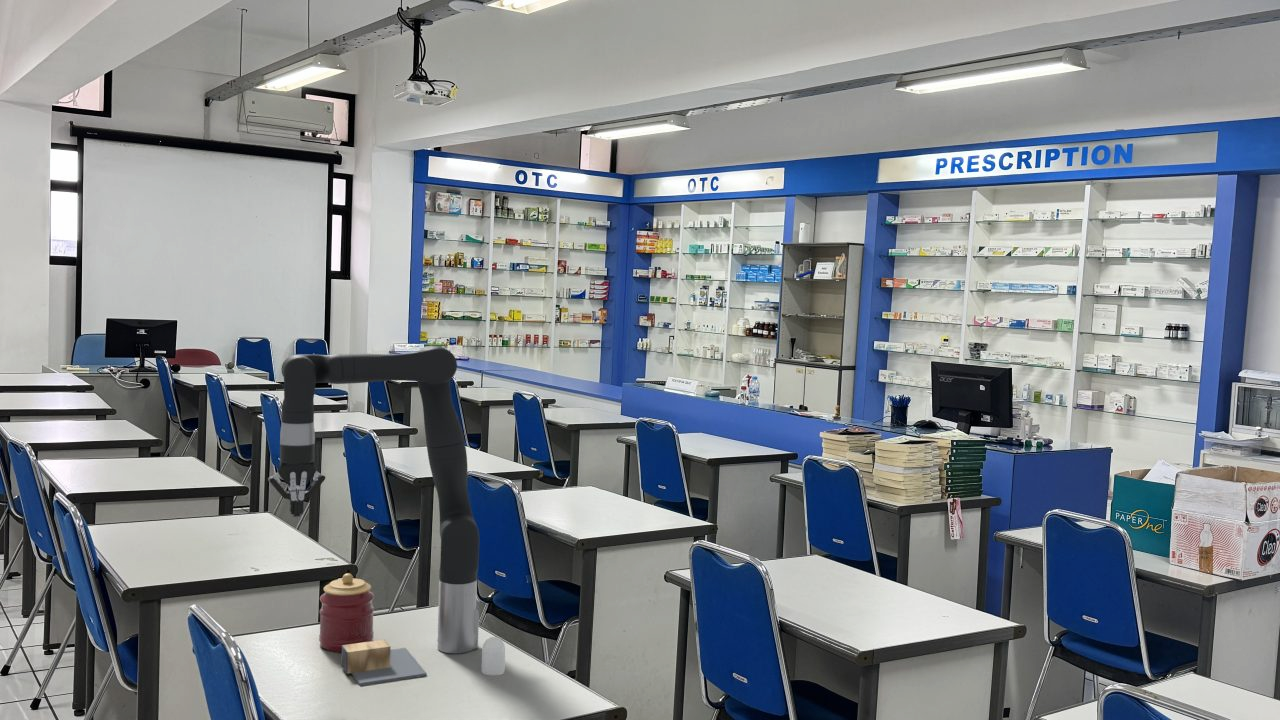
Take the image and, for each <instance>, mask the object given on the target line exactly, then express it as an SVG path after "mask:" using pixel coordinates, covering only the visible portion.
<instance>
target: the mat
mask: <svg viewBox="0 0 1280 720" xmlns="http://www.w3.org/2000/svg"><path fill="white" fill-rule="evenodd" d="M351 675H352V677H353V678H354V680H355V681H356V683H357V684H358V686H359V687H361V686H367V685H373V684H381V683H387V682H392V681H393V682H394V681H401V680H407V679H413V678H420V677H427V671H426V670H425V669H424V668H423V667H422V666H421V664H420V663H419V662H418V661H417V660H416V659H415V658H414V656H413V655H412V654H411V653H410V651H409V650H408V649H407V648H406V647H400V648H394V649H390V668H383V669H377V670H370V671H363V672H356V673H351Z"/></svg>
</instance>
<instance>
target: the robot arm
mask: <svg viewBox="0 0 1280 720" xmlns="http://www.w3.org/2000/svg"><path fill="white" fill-rule="evenodd" d="M457 369H458V362H457V359H456V357H455V355H454V354H453V353H452V352H451V351H450V350H449V349H447V348H445V347H443V346H437V345H426V346H423V347H422V348H420V349H419V351H416V352H409V353H399V354H397V353H396V354H395V353H394V354H391V353H389V354H385V353H382V354H381V353H366V352H365V353H362V352H361V353H359V352H358V353H357V352H356V353H354V352H353V353H336V354H335V353H334V354H329V355H328V354H326V355H325V354H293V355H290V356H288V357H287V358H286V359H285V360H284V361H283V363H282V365H281V374H282V377H283V400H282V403H281V404H282V405H281V424H280V425H281V427H280V438H279V439H280V440H279V466H278V468H277V472H276V473H275V474H273V475H272V476H271V475H270V476H269V477H268V478H267V481H268V483H270V484H271V485H272V487H274V488H275V490H276V491H277V492H278V494H280V496H281V497H282V498H283V499H285V500H289V512H290V514H291V515H292V517H293V518H294V517H295V518H296V517H301V515H303V513H304V508H305V507H304V503H305V499H308V498H311V497H312V496H313V495H314V494H315V493H316V491H317V490H318V489H319V488H320V487H321V485H322V484H323V483H324V481H325V480H326V476H325V475H324V474H323V473H320V472H319V471H317V466H316V464H315V449H316V447H315V442H316V437H315V434H316V432H315V422H314V420H315V417H314V415H315V403H314V397H315V390H316V384H320V383H321V384H322V383H323V384H324V383H325V384H327V383H328V384H334V385H345V384H346V385H348V384H365V383H375V382H386V381H388V382H389V381H390V382H391V381H410V382H412V381H413V382H417V386H418V388H419V389H418V391H419V393H420V398H421V404H422V412H423V420H424V421H423V425H424V431H425V432H424V434H425V443H426V450H427V456H428V463H429V467H430V471H431V476H432V481H433V483H434V486H435V490H436V494H437V498H438V510H439V537H440V564H439V565H440V566H439V571H438V574H439V575H438V576H439V577H438V578H439V580H438V608H437V609H438V612H437V613H438V615H437V617H438V618H437V640H436V641H437V649H438V650H439V651H440V652H443V653H447V654H464V653H468V652H471V651H473V650H477V649H478V648H479V625H480V622H479V620H480V612H479V611H480V610H478V609H477V599H478V597H477V595H478V593H477V592H478V589H477V588H478V571H479V562H480V561H479V560H480V559H479V558H480V530H479V527H478V525H477V522H476V520H475V518H474V515H473V511H472V507H471V506H472V505H471V502H470V499H469V493H468V455H467V448H466V442H465V436H464V432H463V428H462V425H461V421H460V419H459V416H458V414H457V411H456V409H455V405H454V403H453V398H452V391H451V380H452V379H453V377H454V376H455V374H456V372H457ZM280 478H281V479H282V480H283V482H284V484H286V485H287V487H288V492H286V490H285V489H284V488H283V487H282V486H281V485H280V483H281V479H280ZM311 479H313V481H312V482H311V484H310V485H309V486H308V487H307V489H306V485H307V484H309V482H310V480H311Z"/></svg>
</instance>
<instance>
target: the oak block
mask: <svg viewBox="0 0 1280 720" xmlns="http://www.w3.org/2000/svg"><path fill="white" fill-rule="evenodd" d="M390 650H392V649H391V645H390V644H389V643H388V642H387V641H386V639H379V640H372V641H371V642H363V643H355V644H348V645H342V652H341V661H340V662H341V663H340V665H341V668H342V669H343V671H344V673H345V674H348V675H349V674H352V673H356V672H363V671H370V670H377V669H383V668H390Z"/></svg>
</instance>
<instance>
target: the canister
mask: <svg viewBox="0 0 1280 720" xmlns="http://www.w3.org/2000/svg"><path fill="white" fill-rule="evenodd" d="M370 590H372V585H371V584H370V583H369V582H368V583H367V582H366V580H364V579H360V578H354V576H353V575H352V573H345V574H343V576H342V578H339V579H334V580H332V581H331V582H329V583H328V584H326V585H325V586H324V587H323V591H324V593H323V594H321V595H320V597H319V600H320V602H321V608H320V609H319V620H320V621H319V635H318V637H319V639H318V641H319V646H320V647H321V648H322V649H324V650H327V651H331V652H338V653H339V652H340V653H342V645H348V644H355V643H363V642H371V641H374V612H375V607H374V606H373V600H374V598H375V594H374V593H373V592H372V591H370Z"/></svg>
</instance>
